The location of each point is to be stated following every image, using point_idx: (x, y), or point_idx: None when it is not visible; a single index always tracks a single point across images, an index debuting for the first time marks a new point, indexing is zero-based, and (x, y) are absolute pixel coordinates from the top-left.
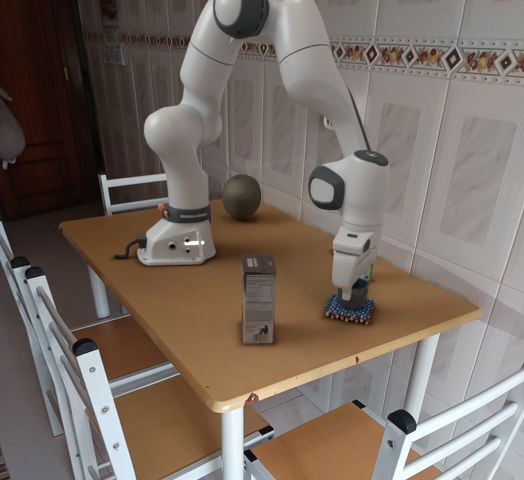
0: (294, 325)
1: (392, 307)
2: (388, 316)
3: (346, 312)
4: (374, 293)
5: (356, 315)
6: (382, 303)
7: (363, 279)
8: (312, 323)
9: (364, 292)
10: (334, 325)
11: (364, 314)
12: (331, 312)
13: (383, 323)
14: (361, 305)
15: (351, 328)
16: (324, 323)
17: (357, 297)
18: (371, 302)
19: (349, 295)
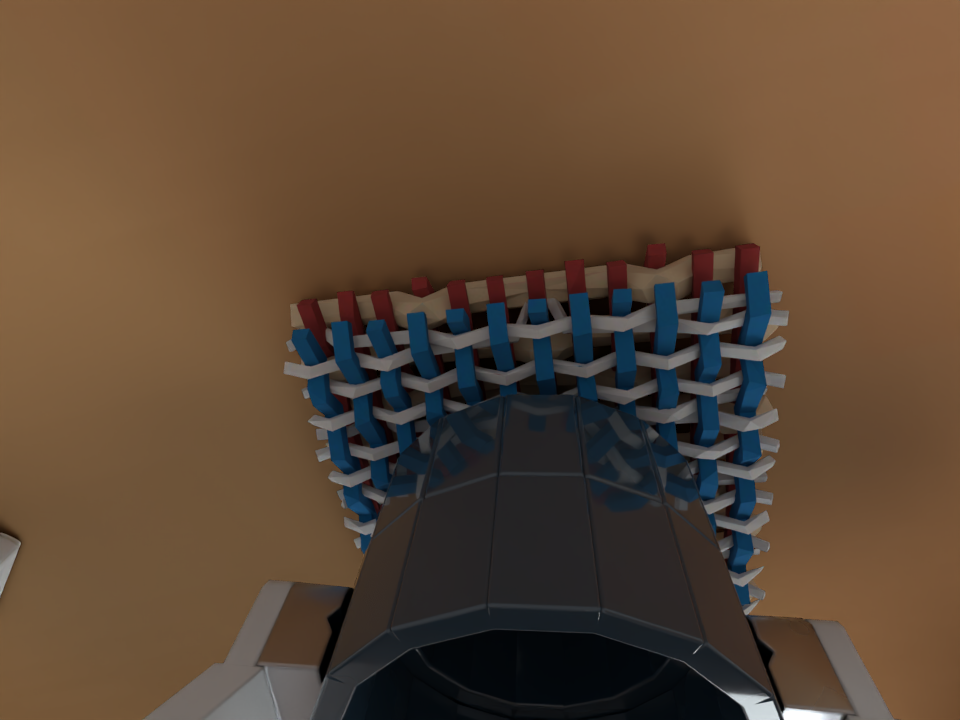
0: (934, 692)
1: (176, 104)
2: (426, 80)
3: (742, 497)
4: (33, 362)
5: (757, 401)
6: (169, 236)
7: (336, 696)
8: (867, 618)
9: (652, 556)
10: (855, 491)
11: (672, 335)
12: None
13: (636, 84)
14: (642, 431)
15: (876, 359)
16: (841, 557)
17: (726, 565)
18: (350, 344)
19: (873, 691)
